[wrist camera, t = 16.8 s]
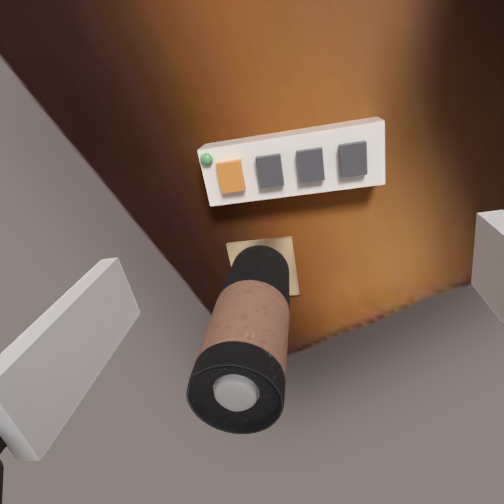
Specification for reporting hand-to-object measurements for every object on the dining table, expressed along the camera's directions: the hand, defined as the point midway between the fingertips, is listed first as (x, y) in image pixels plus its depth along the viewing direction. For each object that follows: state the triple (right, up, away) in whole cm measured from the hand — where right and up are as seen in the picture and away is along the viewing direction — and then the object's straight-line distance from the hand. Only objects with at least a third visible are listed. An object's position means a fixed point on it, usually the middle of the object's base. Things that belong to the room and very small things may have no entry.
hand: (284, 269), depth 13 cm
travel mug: (0, -2, +31) cm, 31 cm away
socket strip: (+3, +11, +25) cm, 27 cm away
